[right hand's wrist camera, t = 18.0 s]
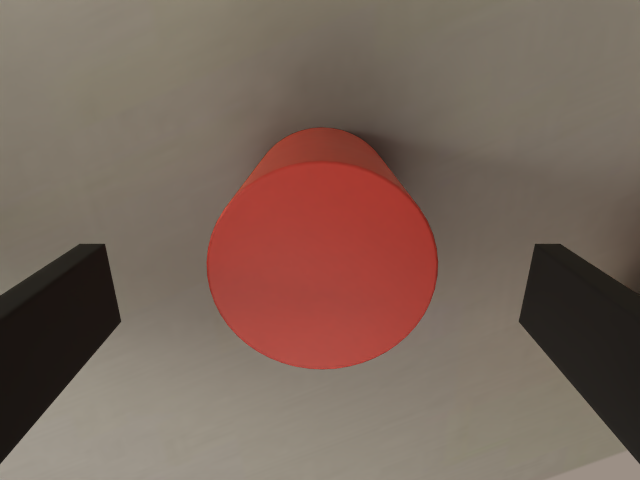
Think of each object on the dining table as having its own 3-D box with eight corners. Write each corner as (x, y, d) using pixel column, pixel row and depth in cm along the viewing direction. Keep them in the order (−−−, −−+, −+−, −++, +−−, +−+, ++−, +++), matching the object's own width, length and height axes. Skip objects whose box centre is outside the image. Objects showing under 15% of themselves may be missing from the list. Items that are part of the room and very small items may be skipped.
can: (307, 95, 18) (296, 106, 10) (421, 186, 20) (488, 257, 12) (224, 212, 20) (163, 296, 12) (334, 286, 22) (340, 402, 14)
